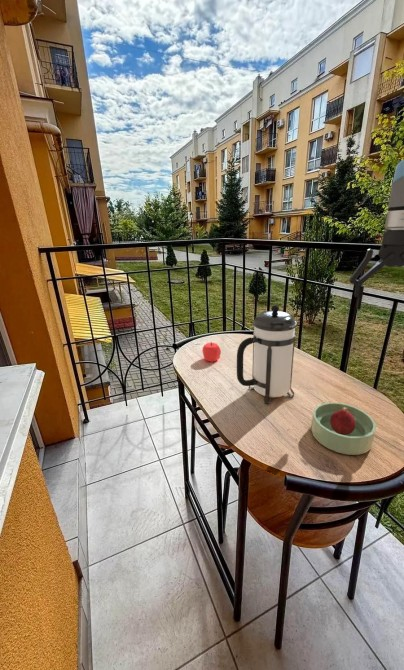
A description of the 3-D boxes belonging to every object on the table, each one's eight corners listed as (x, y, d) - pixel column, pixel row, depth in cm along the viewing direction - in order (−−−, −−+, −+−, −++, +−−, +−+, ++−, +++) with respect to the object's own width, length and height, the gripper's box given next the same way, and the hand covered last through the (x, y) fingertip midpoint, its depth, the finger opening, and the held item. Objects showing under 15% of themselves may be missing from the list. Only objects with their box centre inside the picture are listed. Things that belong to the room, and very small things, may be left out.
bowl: (367, 425, 76) (371, 408, 74) (376, 463, 64) (380, 444, 62) (312, 414, 82) (314, 398, 80) (310, 448, 69) (312, 430, 67)
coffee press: (253, 377, 103) (255, 297, 93) (298, 386, 96) (306, 301, 86) (235, 401, 89) (235, 311, 79) (286, 415, 82) (294, 316, 71)
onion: (356, 443, 70) (361, 416, 67) (331, 441, 70) (336, 414, 68) (348, 427, 75) (353, 402, 72) (326, 426, 76) (329, 401, 73)
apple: (198, 358, 120) (197, 341, 117) (213, 354, 124) (213, 337, 121) (209, 365, 114) (208, 347, 111) (224, 360, 118) (224, 342, 115)
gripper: (347, 231, 72) (337, 310, 80) (471, 226, 63) (446, 316, 71) (345, 230, 79) (336, 303, 86) (457, 226, 70) (435, 309, 77)
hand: (385, 309), depth 78 cm, fingers open, 13 cm apart
